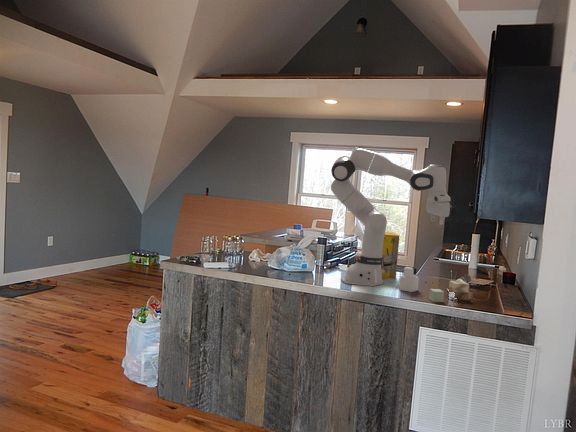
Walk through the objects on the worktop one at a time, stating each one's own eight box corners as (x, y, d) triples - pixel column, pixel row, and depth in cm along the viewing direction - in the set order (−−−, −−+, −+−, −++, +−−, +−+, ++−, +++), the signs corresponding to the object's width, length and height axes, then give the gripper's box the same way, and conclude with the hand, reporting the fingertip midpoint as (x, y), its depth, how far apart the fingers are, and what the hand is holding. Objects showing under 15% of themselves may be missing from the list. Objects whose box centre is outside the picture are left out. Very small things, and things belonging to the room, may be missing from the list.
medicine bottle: (405, 287, 247) (407, 265, 246) (418, 290, 243) (420, 267, 242) (399, 289, 242) (401, 266, 241) (412, 292, 237) (414, 269, 236)
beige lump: (454, 300, 228) (454, 291, 228) (448, 296, 235) (449, 288, 235) (468, 300, 229) (468, 292, 228) (461, 296, 236) (462, 289, 235)
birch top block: (454, 291, 228) (455, 283, 228) (448, 288, 235) (449, 280, 235) (468, 292, 228) (469, 284, 228) (462, 289, 235) (463, 281, 235)
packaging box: (395, 279, 268) (399, 235, 266) (367, 277, 269) (370, 233, 267) (390, 273, 285) (393, 232, 283) (363, 271, 285) (366, 230, 283)
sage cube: (432, 301, 221) (433, 291, 221) (428, 299, 226) (429, 288, 226) (443, 302, 222) (444, 291, 221) (439, 299, 227) (439, 289, 226)
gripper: (423, 194, 250) (423, 220, 252) (440, 199, 230) (439, 226, 232) (434, 193, 250) (434, 219, 253) (452, 198, 230) (452, 226, 232)
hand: (437, 223), depth 242 cm, fingers open, 8 cm apart
